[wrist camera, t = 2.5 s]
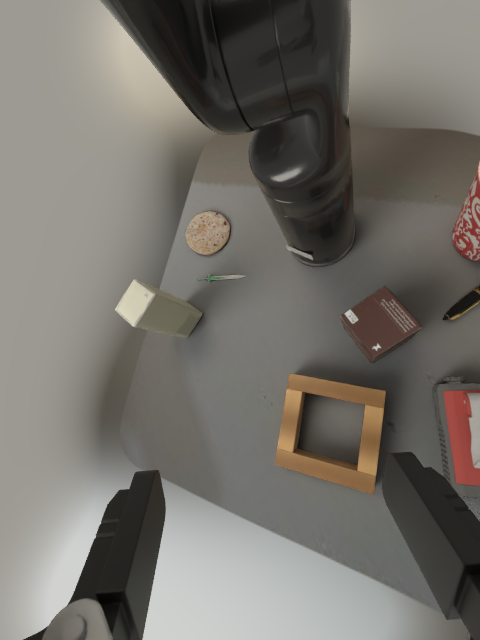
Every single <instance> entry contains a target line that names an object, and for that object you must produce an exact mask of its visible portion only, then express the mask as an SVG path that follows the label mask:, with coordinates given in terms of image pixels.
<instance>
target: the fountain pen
mask: <svg viewBox="0 0 480 640" xmlns="http://www.w3.org/2000/svg"><path fill="white" fill-rule="evenodd" d="M479 299H480V286H479V287H477V288H475V289H474V290H473V291H471V292H470V293H469V294H467V295H466V296H465V297H464V298H462V299H461V300H460V301H459V302H458V303H456V304H455V305H454V306H453V307H452V308H451V309H450V310H449V311H448V312H447V313H446V314H445V315H444V318H443V320H447V319H451V320H453V319H455V318H457V317H459V316H461V315H462V314H463V313H465V312H466V311H468V310H469V309H471V308H472V307H474V306H475V305H476V304H478V303H479V302H480V301H479V302H477V303H476V304H475V305H473V306H472V307H470V308H469V309H467V310H466V311H464V312H463V313H462V314H459V313H460V312H462V311H463V310H465V309H466V308H468V307H469V306H471V305H472V304H473V303H475V302H476V301H477V300H479Z"/></svg>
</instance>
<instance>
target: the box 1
mask: <svg viewBox="0 0 480 640" xmlns="http://www.w3.org/2000/svg"><path fill="white" fill-rule="evenodd" d="M115 310H116V311H117V312H118V313H119V314H120V315H121V316H122V317H123V318H124V319H125V320H126V321H127V322H129V323H130V324H131V325H132V326H133V327H137V328H143V329H147V330H151V331H155V332H160V333H165V334H169V335H173V336H177V337H182V338H187V337H188V336H189V334H190V333H191V332H192V330H193V329H194V327H195V326H196V324H197V322H198V321H199V319H200V318H201V316H202V314H203V313H202V312H200V311H199V310H198V309H196V308H195V307H194V306H192V305H191V304H189V303H188V302H186V301H184V300H182V299H180V298H177V297H175V296H173V295H170V294H168V293H166V292H164V291H161V290H159V289H157V288H155V287H152V286H150V285H148V284H145V283H143V282H141V281H138V280H136V279H134V280H133V282H132V283H131V285H130V286H129V288H128V289H127V291H126V292H125V294H124V296H123V297H122V299H121V301H120V302H119V304H118V306H117V307H116V309H115Z"/></svg>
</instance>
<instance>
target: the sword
mask: <svg viewBox="0 0 480 640" xmlns="http://www.w3.org/2000/svg"><path fill="white" fill-rule="evenodd" d="M210 274H211V273H210ZM210 274H209V275H210ZM209 275H208V277H207V278H202V279H204V280H205V279H207V280H208V282H209V281H211V280H222V279H238V278H241V277H244V276H242V275H227V276H209ZM197 280H201V279H199V278H198V279H197ZM209 283H210V282H209Z"/></svg>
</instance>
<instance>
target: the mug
mask: <svg viewBox="0 0 480 640" xmlns="http://www.w3.org/2000/svg"><path fill="white" fill-rule="evenodd" d="M452 239H453V243H454V246H455V248H456V249H457V251H458V252H459V253H461V254H462V255H463V256H464V257H466V258H469V259H471V260H474V261H478V262H480V162H479V165H478V172H477V174H476V176H475V179H474V181H473V183H472V186H471V188H470V191H469V193H468V195H467V198H466V200H465V202H464V205H463V207H462V209H461V212H460V214H459V217H458V219H457V221H456V223H455V226H454V229H453V233H452Z"/></svg>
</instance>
